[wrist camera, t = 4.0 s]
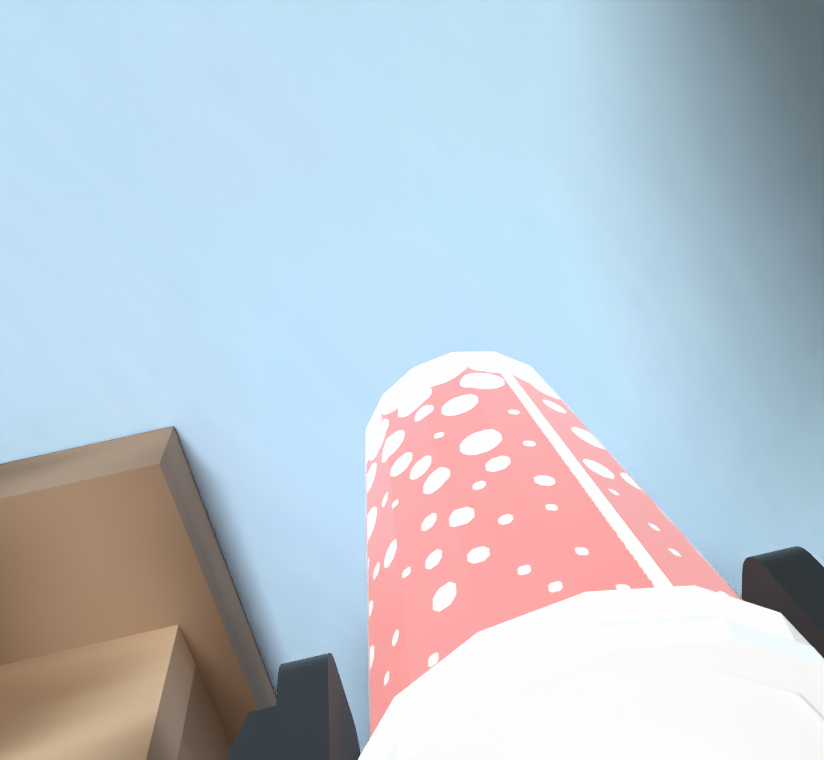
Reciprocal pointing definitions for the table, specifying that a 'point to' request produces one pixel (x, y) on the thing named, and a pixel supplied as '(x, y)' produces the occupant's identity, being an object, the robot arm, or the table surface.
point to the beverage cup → (552, 595)
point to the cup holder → (118, 610)
